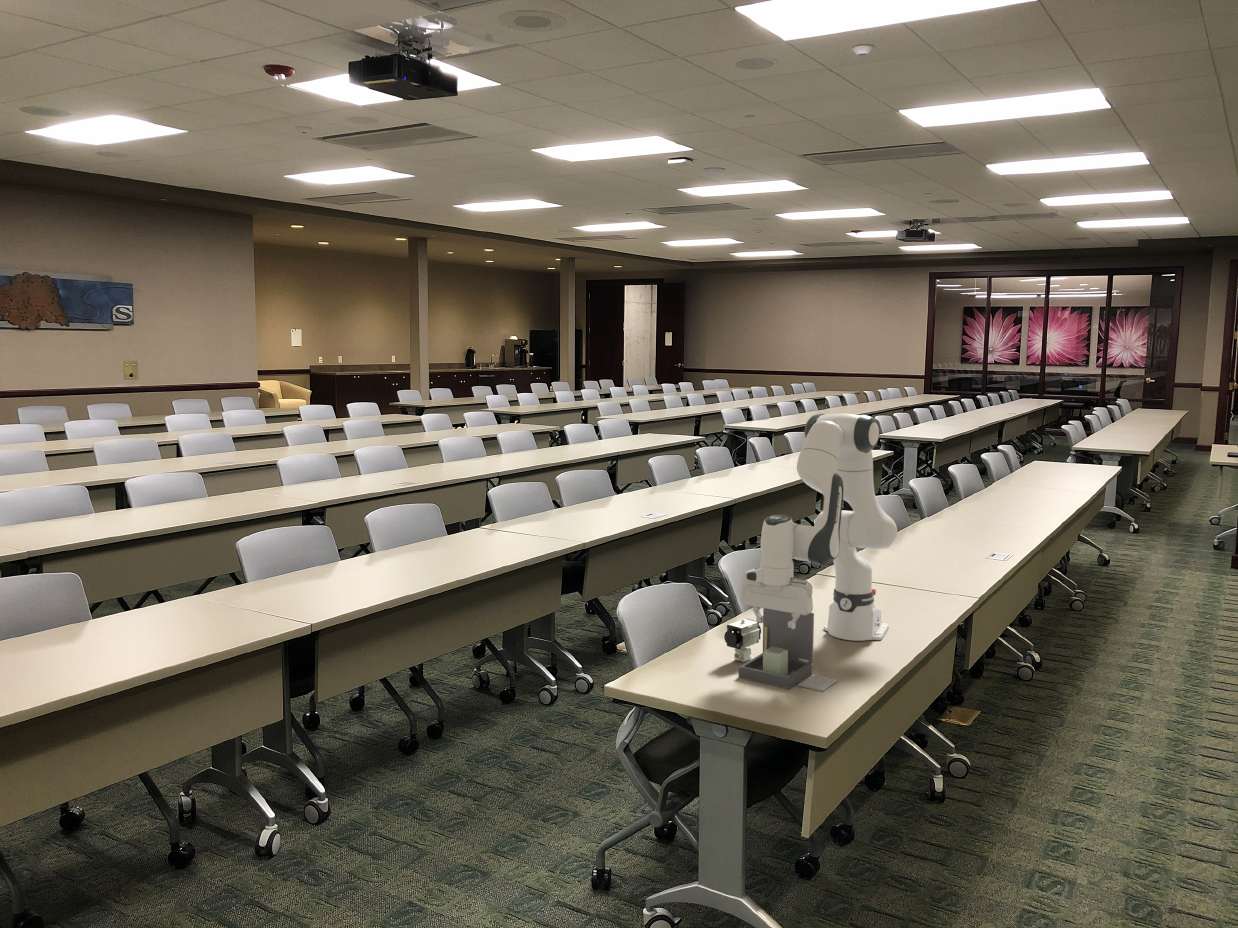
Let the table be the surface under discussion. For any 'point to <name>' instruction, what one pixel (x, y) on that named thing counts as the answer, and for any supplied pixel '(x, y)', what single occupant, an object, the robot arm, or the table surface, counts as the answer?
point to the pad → (817, 683)
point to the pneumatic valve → (742, 637)
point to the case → (788, 639)
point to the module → (776, 661)
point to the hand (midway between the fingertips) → (775, 625)
